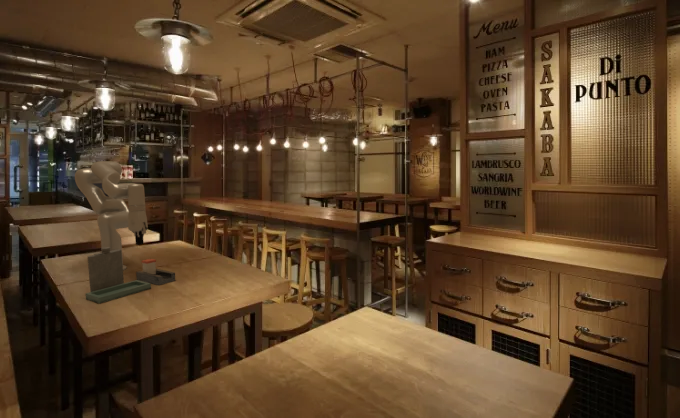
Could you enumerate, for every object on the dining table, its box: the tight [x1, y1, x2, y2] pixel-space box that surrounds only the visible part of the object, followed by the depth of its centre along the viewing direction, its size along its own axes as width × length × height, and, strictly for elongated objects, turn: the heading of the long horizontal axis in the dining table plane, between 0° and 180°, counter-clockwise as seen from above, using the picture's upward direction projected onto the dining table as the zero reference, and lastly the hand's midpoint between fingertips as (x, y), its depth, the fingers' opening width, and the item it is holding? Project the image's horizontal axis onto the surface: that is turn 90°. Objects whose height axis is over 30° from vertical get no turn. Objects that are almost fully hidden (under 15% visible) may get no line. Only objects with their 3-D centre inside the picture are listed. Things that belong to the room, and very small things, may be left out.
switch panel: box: [135, 268, 176, 286], centre depth 199 cm, size 18×9×4 cm, turn 58°
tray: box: [84, 279, 152, 304], centre depth 178 cm, size 11×23×2 cm, turn 148°
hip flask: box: [87, 247, 125, 292], centre depth 182 cm, size 16×4×20 cm, turn 158°
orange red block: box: [141, 258, 157, 274], centre depth 201 cm, size 4×5×7 cm
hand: (139, 244), depth 203 cm, fingers closed
